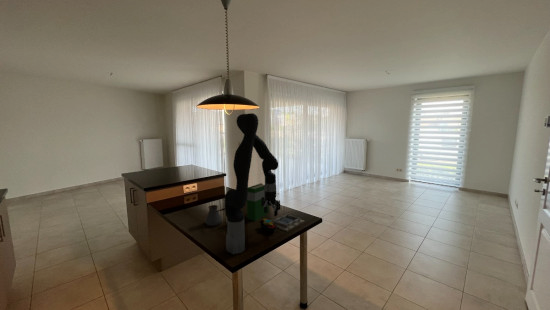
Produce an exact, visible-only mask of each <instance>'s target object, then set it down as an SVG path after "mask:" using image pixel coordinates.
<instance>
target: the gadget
mask: <svg viewBox="0 0 550 310" xmlns="http://www.w3.org/2000/svg"><path fill="white" fill-rule="evenodd" d="M272 222H273V220H272V219H268V218H263V219H261V220H260V221H259V224H260V227H261V228H263V229H264V230H266V231H267V233H273V232H275V230H276V229H277V226H276V225H275V224H273V223H272Z"/></svg>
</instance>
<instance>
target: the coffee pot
mask: <svg viewBox="0 0 550 310" xmlns="http://www.w3.org/2000/svg"><path fill="white" fill-rule="evenodd" d="M218 208H219V206H218V205H216V204H213V205H212V204H211V205H209V206H208V209H209V210H208V213H207V215H206V217H205V220H204V223H205V225H206V226H209V227H216V226H218V225H220V224H221V223H222V222H223V218H222V216H221V215H220V212H221V211H225V207H224V208H223V207H222V208H221V209H218Z"/></svg>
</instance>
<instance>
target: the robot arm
mask: <svg viewBox="0 0 550 310" xmlns="http://www.w3.org/2000/svg"><path fill="white" fill-rule="evenodd" d="M235 122H236V126H237V128H238V129H239V130H240V132H241V133H242V134H243V137H242V140H241V142H240V144H239V146H237V148H236V150H235V153H234V157H233V158H234V159H233V165H232V166H233V170H234V174H235V178H236V187H235V189H234V188H231V189H229V190H228V191H226V194H225V196H224V208H225V210H224V211H225V215H226V219H227V221H226V223H227V225H226V226H227V232H226V234H225V245H226V246H225V247H226V250H225V251H226V252H228V253H229V254H231V255H233V256H235V254H236V255H237V254H241V253H243V252H244V251H245V250H246V239H245V237H246V234H245V233H246V231H245V229H246V228H245V227H246V225H245V213H244V212H243V210H242V209H243V208H244V207H245V206H247V196H248V187H249V180H250V171H251V164H252V157H253V151H256V153H257V155H258V157H259V158H260V159H261V160H262V162H261V169H262V173H263V175H264V185H265V186H264V188H265V196H264V197H262V202H261V205H262V206H263V207H264V213H267V206H268V205H269V207H271V208H272V209H273V211H274V212H273V216H274V217H277V216H278V215H279V211H280V210H281V200H280V199H277V179H276V177H277V175H276V174H275V173H273V172H272V171H276V170H277V169H278V168H279V161H278V159H277V158H276V157H275V156H274V154H273V153H272V152H270V149H269V148H268V145H267V144H266V142H264V140H263V139H261V137H260V136H258V135H257V132H258V127H259V117H258V115H256V114H255V113H252V112H251V113H250V112H249V113H241V114H239V115H238V116H237V117H236V121H235ZM265 201H266V202H265ZM263 202H264V204H263Z"/></svg>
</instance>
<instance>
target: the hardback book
mask: <svg viewBox="0 0 550 310" xmlns="http://www.w3.org/2000/svg"><path fill="white" fill-rule="evenodd" d="M264 186H265V184H263V183H257V184H255V185H251V186H248V196H247V202H246V217H247V218H246V219H247V220H250V221H253V222H256V221H258V220H260V219H261V218H263V217H265V216H267V215H268V213H269V214H270V205H268V206H267V213H264V207H263V206H262V205H261V202H262V197H264V196H265V188H264ZM265 202H266V201H265ZM263 204H264V202H263Z"/></svg>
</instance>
